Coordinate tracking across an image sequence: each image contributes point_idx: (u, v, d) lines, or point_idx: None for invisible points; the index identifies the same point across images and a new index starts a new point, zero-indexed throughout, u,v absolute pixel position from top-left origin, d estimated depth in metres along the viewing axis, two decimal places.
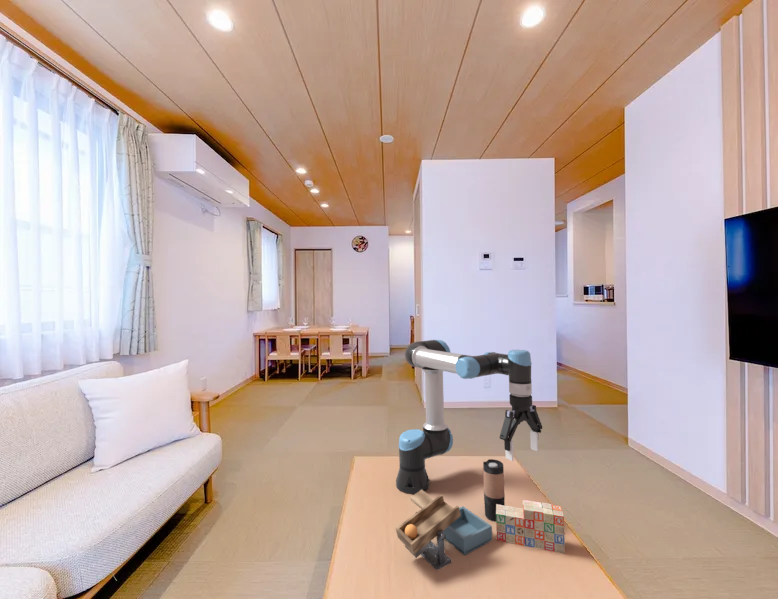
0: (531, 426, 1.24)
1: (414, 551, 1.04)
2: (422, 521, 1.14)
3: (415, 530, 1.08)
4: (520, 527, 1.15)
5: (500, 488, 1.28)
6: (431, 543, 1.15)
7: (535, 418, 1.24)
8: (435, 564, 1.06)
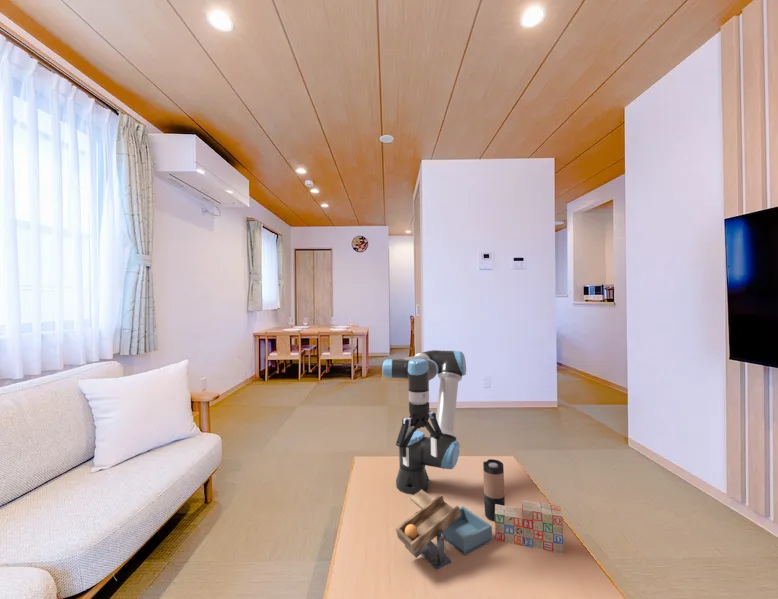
0: (431, 433, 1.29)
1: (414, 551, 1.04)
2: (422, 521, 1.14)
3: (415, 530, 1.08)
4: (519, 527, 1.15)
5: (500, 488, 1.28)
6: (431, 543, 1.15)
7: (435, 425, 1.29)
8: (435, 564, 1.06)
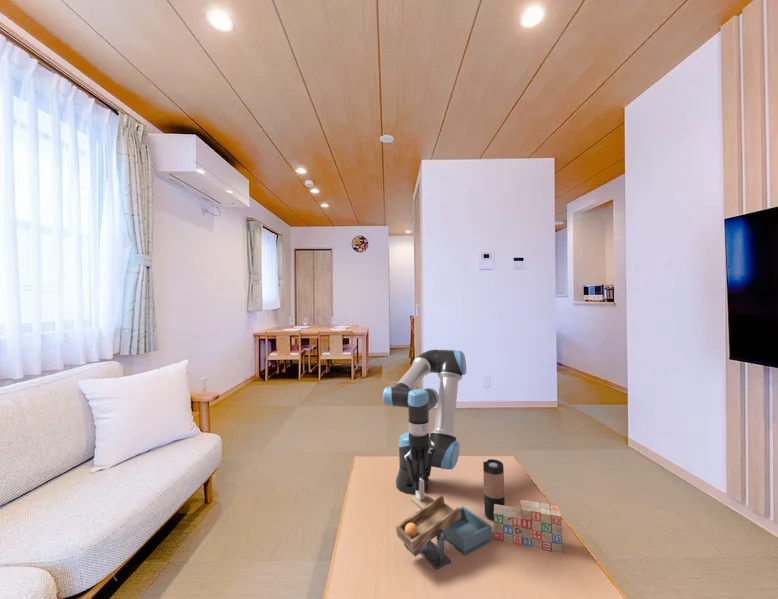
0: (421, 470, 1.26)
1: (414, 549, 1.04)
2: (423, 521, 1.14)
3: (415, 528, 1.08)
4: (518, 527, 1.15)
5: (500, 488, 1.28)
6: (431, 543, 1.15)
7: (428, 462, 1.27)
8: (435, 564, 1.06)
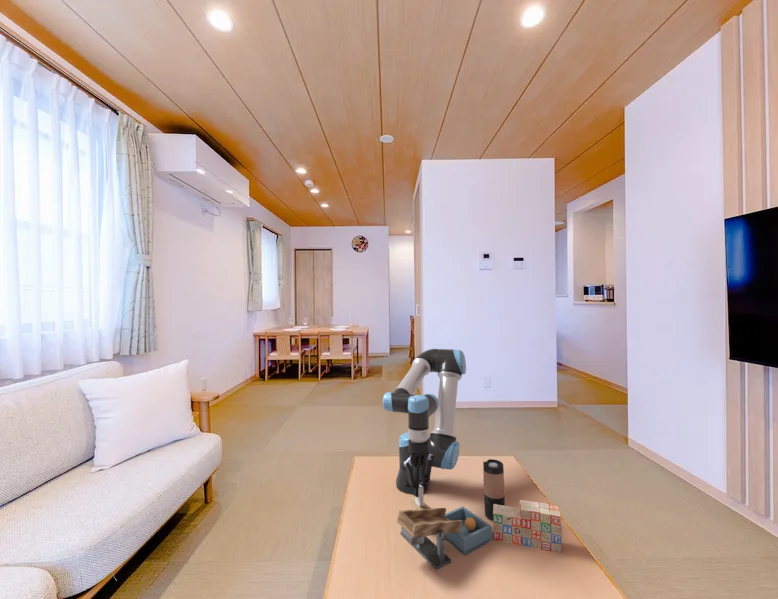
0: (420, 476, 1.26)
1: (414, 534, 1.04)
2: (423, 520, 1.14)
3: (475, 526, 1.21)
4: (517, 527, 1.15)
5: (500, 488, 1.28)
6: (431, 543, 1.15)
7: (427, 468, 1.27)
8: (435, 564, 1.06)
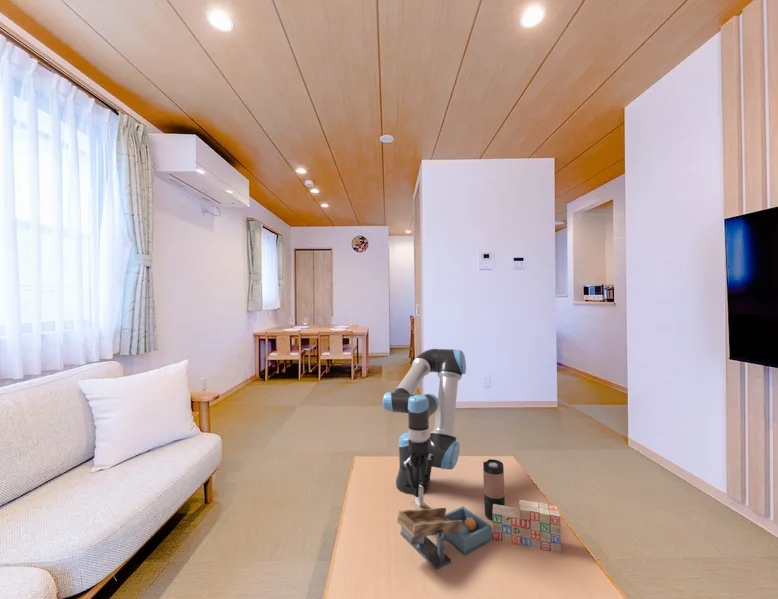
0: (420, 476, 1.26)
1: (414, 534, 1.04)
2: (423, 520, 1.14)
3: (475, 526, 1.21)
4: (516, 526, 1.15)
5: (500, 488, 1.28)
6: (431, 543, 1.15)
7: (427, 468, 1.27)
8: (435, 564, 1.06)
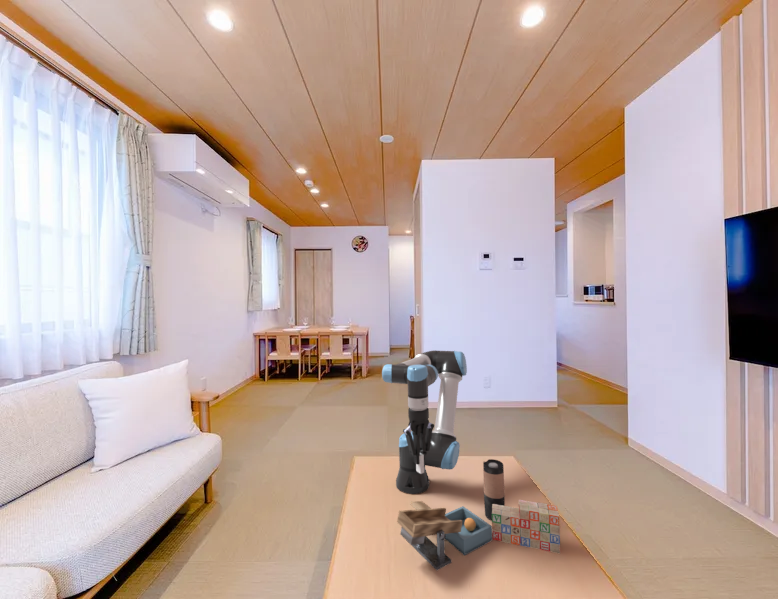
0: (420, 445, 1.27)
1: (414, 534, 1.04)
2: (423, 520, 1.14)
3: (475, 526, 1.21)
4: (516, 526, 1.15)
5: (500, 488, 1.28)
6: (431, 543, 1.15)
7: (427, 436, 1.27)
8: (435, 564, 1.06)
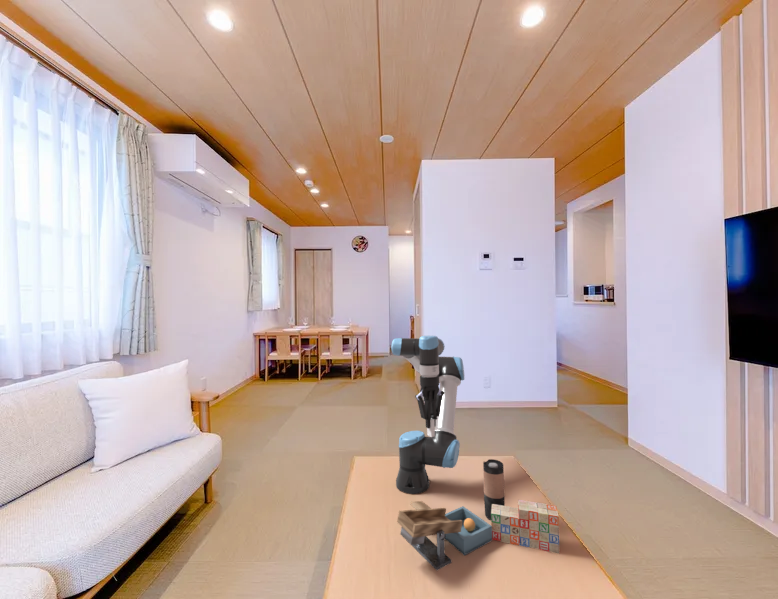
0: (431, 410, 1.35)
1: (414, 534, 1.04)
2: (423, 520, 1.14)
3: None
4: (515, 526, 1.15)
5: (500, 488, 1.28)
6: (431, 543, 1.15)
7: (438, 403, 1.35)
8: (435, 564, 1.06)
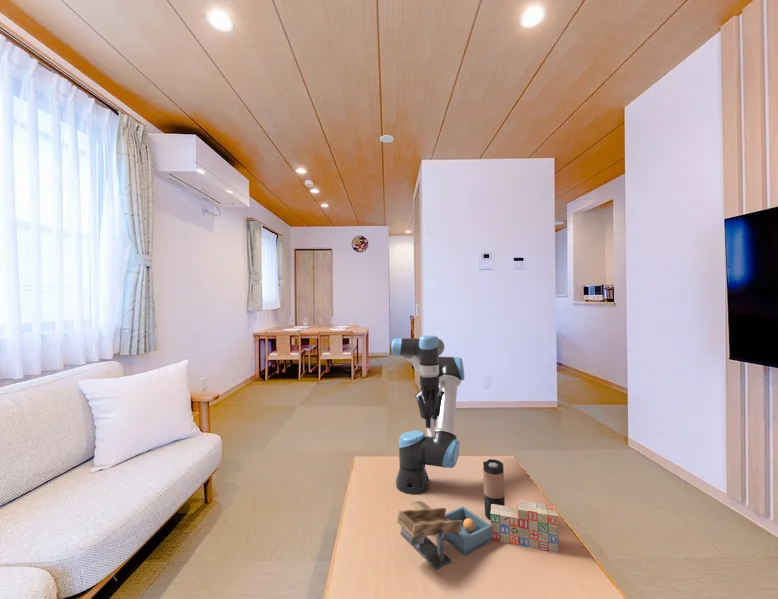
0: (431, 410, 1.35)
1: (414, 534, 1.04)
2: (423, 520, 1.14)
3: (474, 526, 1.21)
4: (514, 526, 1.15)
5: (500, 488, 1.28)
6: (431, 543, 1.15)
7: (438, 403, 1.35)
8: (435, 564, 1.06)
